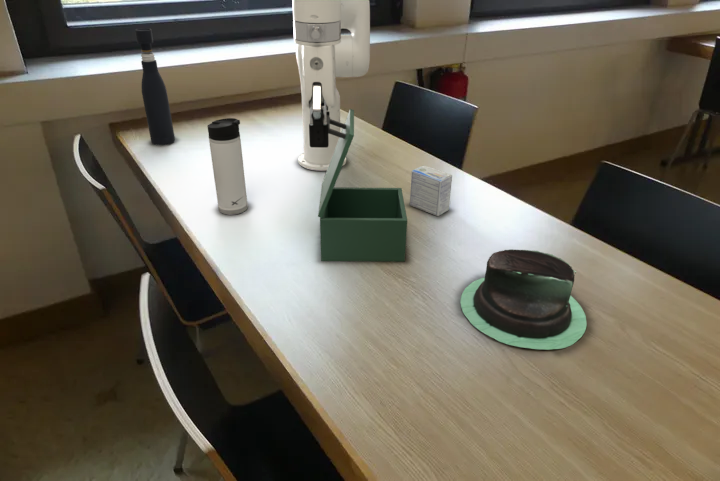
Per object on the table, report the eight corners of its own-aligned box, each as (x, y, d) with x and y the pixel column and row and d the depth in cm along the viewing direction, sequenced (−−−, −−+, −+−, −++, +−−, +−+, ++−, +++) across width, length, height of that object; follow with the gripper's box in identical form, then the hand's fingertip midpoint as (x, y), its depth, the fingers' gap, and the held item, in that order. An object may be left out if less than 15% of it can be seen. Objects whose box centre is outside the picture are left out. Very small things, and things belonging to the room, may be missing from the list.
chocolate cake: (570, 271, 96) (613, 351, 79) (473, 309, 100) (494, 391, 84) (544, 206, 89) (585, 278, 72) (441, 250, 93) (457, 326, 77)
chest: (399, 226, 111) (401, 187, 107) (404, 261, 99) (407, 220, 95) (324, 225, 111) (323, 187, 106) (321, 261, 99) (319, 219, 95)
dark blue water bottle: (180, 140, 152) (161, 29, 137) (161, 147, 148) (140, 32, 132) (164, 135, 155) (145, 26, 140) (146, 142, 151) (124, 29, 135)
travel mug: (242, 216, 114) (232, 126, 103) (213, 213, 115) (200, 123, 104) (253, 203, 119) (244, 116, 109) (225, 200, 120) (214, 114, 110)
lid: (354, 110, 98) (325, 99, 97) (354, 135, 87) (321, 123, 86) (325, 185, 106) (298, 176, 105) (322, 218, 95) (291, 208, 93)
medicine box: (449, 210, 117) (453, 174, 113) (437, 217, 115) (441, 180, 110) (420, 199, 122) (423, 164, 117) (408, 205, 119) (411, 170, 115)
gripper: (340, 42, 78) (340, 158, 87) (341, 23, 92) (341, 124, 102) (288, 42, 77) (294, 158, 87) (298, 23, 92) (302, 123, 101)
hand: (320, 138), depth 94 cm, fingers closed on lid, 6 cm apart
